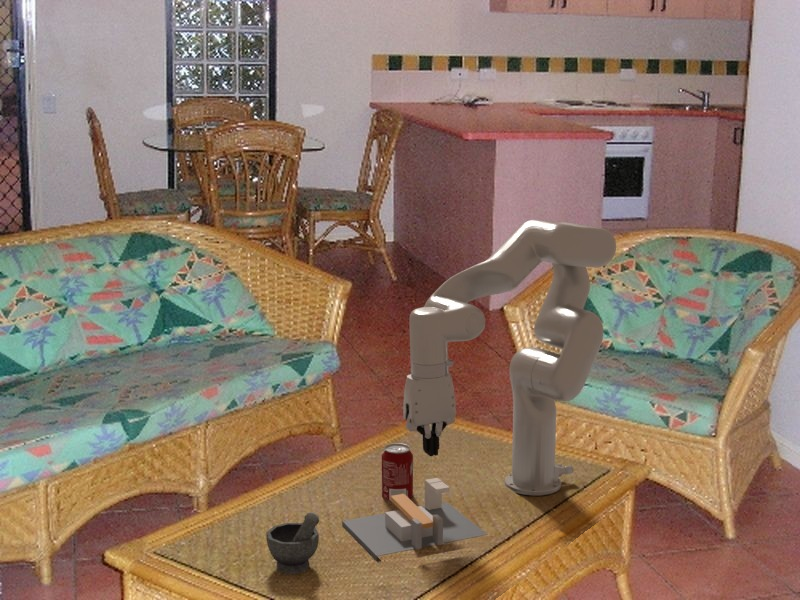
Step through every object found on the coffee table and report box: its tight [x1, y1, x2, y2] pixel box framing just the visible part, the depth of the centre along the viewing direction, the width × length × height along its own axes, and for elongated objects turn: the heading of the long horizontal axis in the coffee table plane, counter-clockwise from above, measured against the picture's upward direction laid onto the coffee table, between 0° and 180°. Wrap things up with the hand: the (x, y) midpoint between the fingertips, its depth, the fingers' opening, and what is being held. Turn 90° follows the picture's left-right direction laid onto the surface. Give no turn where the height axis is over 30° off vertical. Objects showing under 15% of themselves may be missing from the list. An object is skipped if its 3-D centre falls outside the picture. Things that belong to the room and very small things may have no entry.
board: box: [341, 501, 488, 563], centre depth 233 cm, size 24×18×6 cm
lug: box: [424, 477, 450, 510], centre depth 241 cm, size 3×6×6 cm, turn 24°
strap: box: [390, 494, 434, 529], centre depth 231 cm, size 3×14×1 cm, turn 24°
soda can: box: [381, 442, 414, 502], centre depth 249 cm, size 7×7×12 cm
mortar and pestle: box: [265, 512, 320, 575], centre depth 217 cm, size 11×9×12 cm
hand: (431, 453), depth 238 cm, fingers closed
